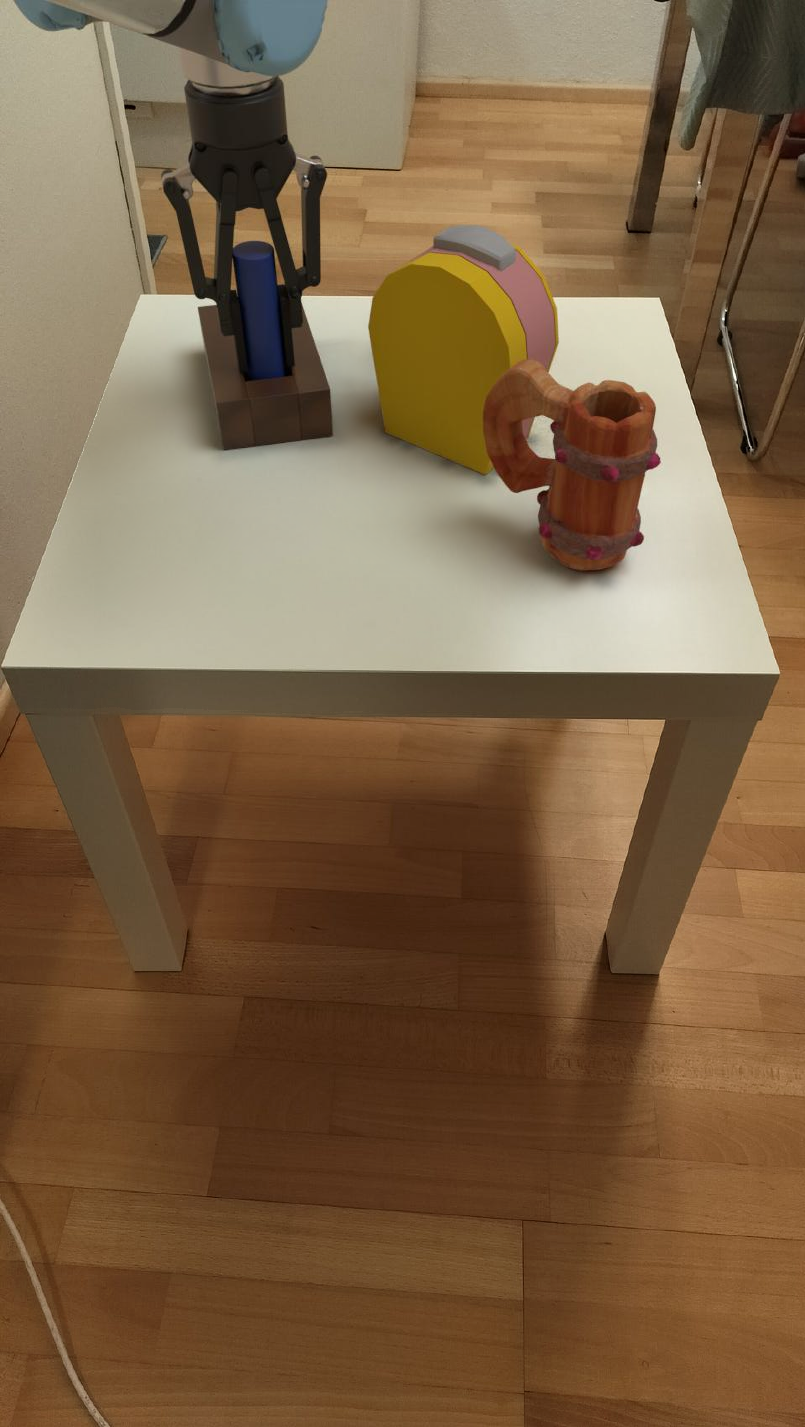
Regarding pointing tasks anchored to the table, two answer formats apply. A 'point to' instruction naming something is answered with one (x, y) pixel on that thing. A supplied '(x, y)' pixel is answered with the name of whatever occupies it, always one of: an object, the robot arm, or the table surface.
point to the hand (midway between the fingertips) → (265, 361)
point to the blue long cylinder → (259, 309)
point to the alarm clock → (457, 338)
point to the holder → (266, 391)
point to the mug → (575, 460)
